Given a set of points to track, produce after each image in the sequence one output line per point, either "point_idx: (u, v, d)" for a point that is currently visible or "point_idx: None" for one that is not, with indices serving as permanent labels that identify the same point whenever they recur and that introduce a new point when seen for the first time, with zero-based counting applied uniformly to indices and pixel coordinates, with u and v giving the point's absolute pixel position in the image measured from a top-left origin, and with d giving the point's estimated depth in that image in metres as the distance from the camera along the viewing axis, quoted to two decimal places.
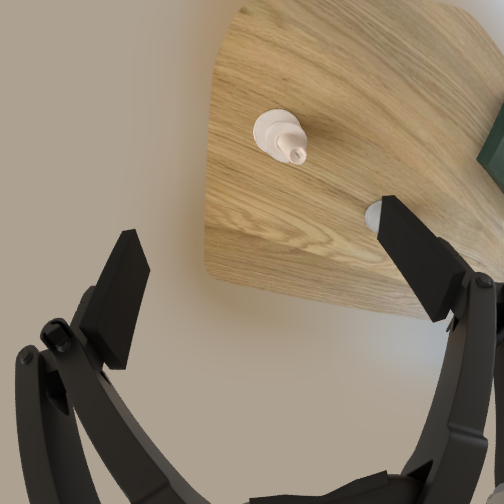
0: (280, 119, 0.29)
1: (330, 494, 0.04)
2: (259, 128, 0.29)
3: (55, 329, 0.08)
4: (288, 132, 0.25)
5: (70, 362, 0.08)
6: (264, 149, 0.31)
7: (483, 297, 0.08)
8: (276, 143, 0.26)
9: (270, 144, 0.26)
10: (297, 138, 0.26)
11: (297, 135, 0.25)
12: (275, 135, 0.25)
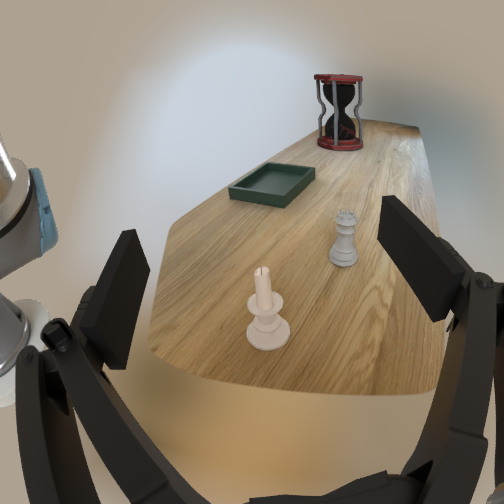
0: (256, 328, 0.34)
1: (330, 494, 0.04)
2: (262, 343, 0.33)
3: (55, 329, 0.08)
4: (256, 302, 0.32)
5: (70, 362, 0.08)
6: (284, 340, 0.33)
7: (483, 297, 0.08)
8: (265, 310, 0.31)
9: (266, 314, 0.30)
10: None
11: None
12: (258, 310, 0.31)
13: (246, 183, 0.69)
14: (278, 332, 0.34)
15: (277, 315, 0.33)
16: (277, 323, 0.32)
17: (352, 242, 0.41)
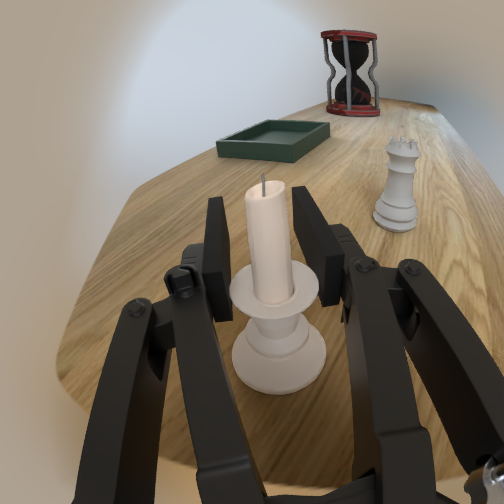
0: None
1: (330, 494, 0.04)
2: (267, 380, 0.14)
3: (183, 274, 0.10)
4: (252, 285, 0.13)
5: (188, 311, 0.09)
6: (314, 371, 0.14)
7: (368, 282, 0.09)
8: (275, 303, 0.12)
9: (277, 314, 0.12)
10: None
11: None
12: (256, 304, 0.12)
13: (241, 140, 0.50)
14: (301, 353, 0.15)
15: (300, 316, 0.15)
16: (301, 334, 0.14)
17: (412, 190, 0.23)
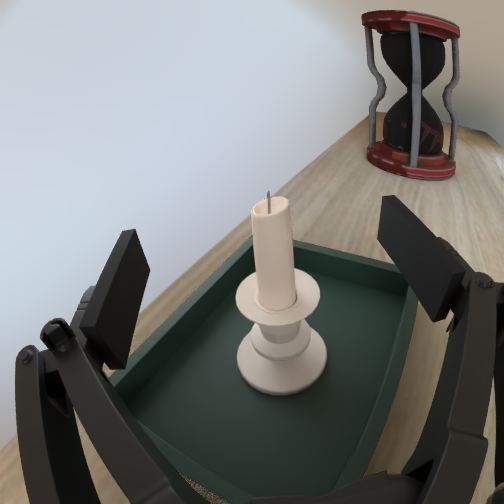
0: None
1: (330, 494, 0.04)
2: (271, 381, 0.15)
3: (55, 329, 0.08)
4: (257, 293, 0.14)
5: (70, 362, 0.08)
6: (315, 373, 0.15)
7: (483, 296, 0.08)
8: (279, 310, 0.13)
9: (281, 320, 0.12)
10: None
11: None
12: (261, 312, 0.13)
13: (174, 347, 0.17)
14: (303, 356, 0.16)
15: (302, 321, 0.15)
16: (303, 339, 0.14)
17: None
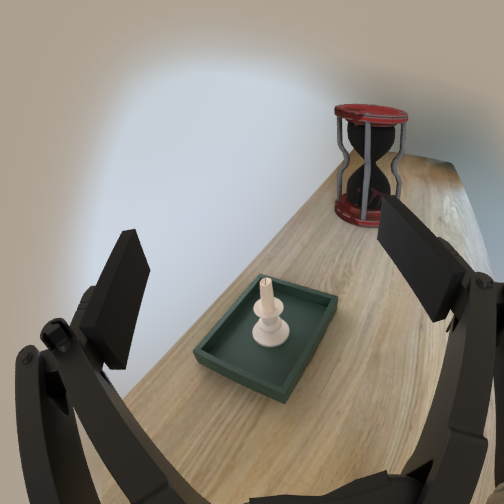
0: (260, 329, 0.41)
1: (330, 494, 0.04)
2: (266, 341, 0.39)
3: (55, 329, 0.08)
4: (261, 307, 0.38)
5: (70, 362, 0.08)
6: (284, 338, 0.39)
7: (483, 297, 0.08)
8: (269, 313, 0.37)
9: (269, 317, 0.37)
10: None
11: None
12: (262, 314, 0.37)
13: (224, 329, 0.42)
14: (279, 331, 0.40)
15: (278, 317, 0.40)
16: (278, 324, 0.39)
17: None
